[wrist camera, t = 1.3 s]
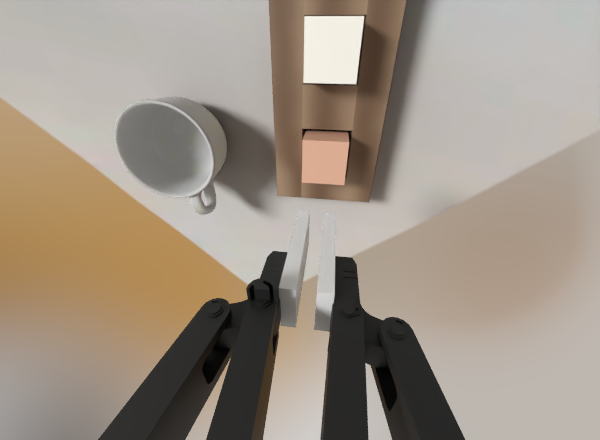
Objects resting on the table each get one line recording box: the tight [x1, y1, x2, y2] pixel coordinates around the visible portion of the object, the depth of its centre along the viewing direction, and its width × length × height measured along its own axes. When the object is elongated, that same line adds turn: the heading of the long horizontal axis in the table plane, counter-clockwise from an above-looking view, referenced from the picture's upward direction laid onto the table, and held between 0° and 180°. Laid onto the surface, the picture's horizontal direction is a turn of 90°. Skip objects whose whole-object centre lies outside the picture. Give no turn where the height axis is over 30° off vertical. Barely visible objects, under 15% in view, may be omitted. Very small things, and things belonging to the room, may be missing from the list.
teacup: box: [114, 97, 227, 214], centre depth 31 cm, size 14×11×8 cm
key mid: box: [303, 16, 364, 84], centre depth 23 cm, size 5×5×4 cm
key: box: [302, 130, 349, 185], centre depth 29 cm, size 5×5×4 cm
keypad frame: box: [269, 0, 406, 202], centre depth 25 cm, size 12×32×3 cm, turn 179°
